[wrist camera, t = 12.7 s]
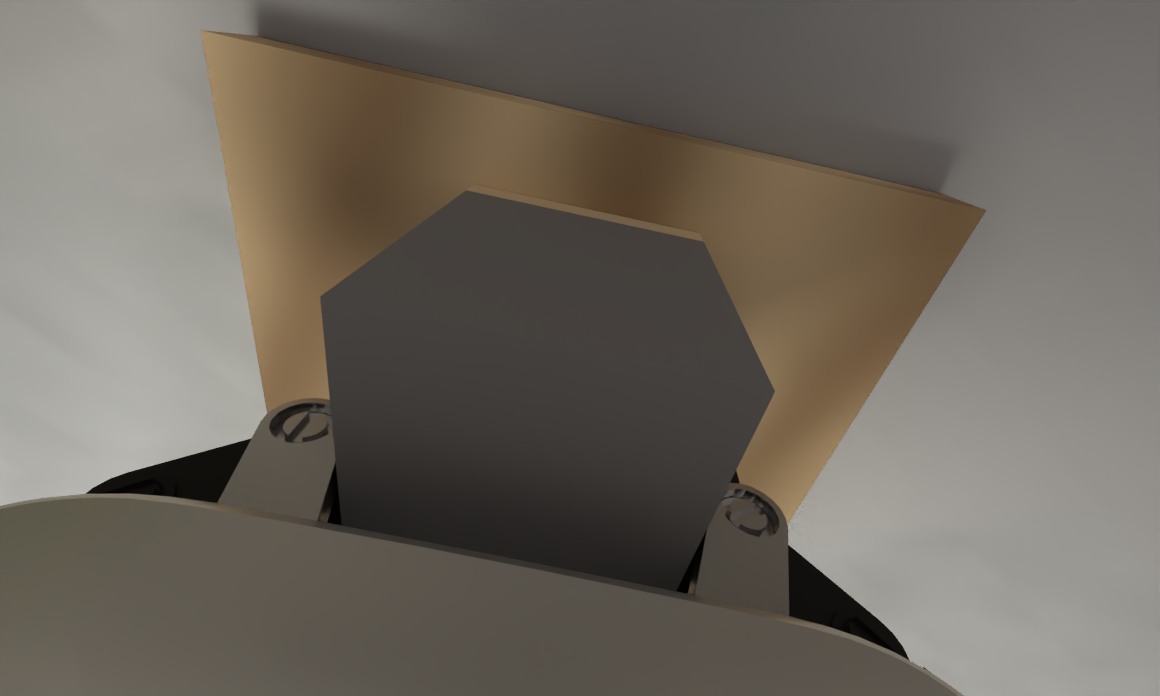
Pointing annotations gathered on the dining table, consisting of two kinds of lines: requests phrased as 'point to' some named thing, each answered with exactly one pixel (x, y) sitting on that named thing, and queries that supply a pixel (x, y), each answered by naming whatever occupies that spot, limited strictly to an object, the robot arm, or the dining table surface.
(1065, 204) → the dining table surface
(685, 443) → the block
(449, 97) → the board
